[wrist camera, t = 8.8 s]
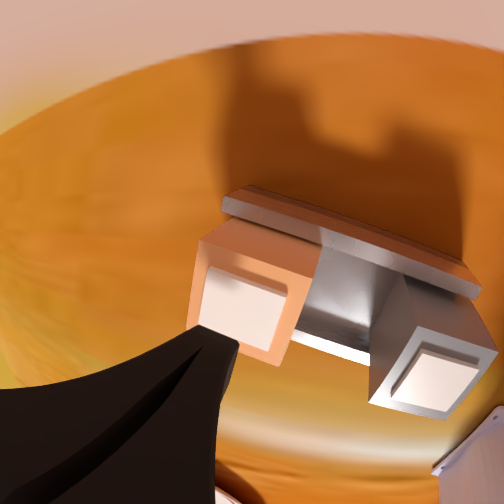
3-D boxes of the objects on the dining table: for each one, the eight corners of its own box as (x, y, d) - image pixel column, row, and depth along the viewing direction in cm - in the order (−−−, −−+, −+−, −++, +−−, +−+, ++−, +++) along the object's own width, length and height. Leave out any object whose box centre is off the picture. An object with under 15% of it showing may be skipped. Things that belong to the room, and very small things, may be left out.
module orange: (302, 305, 16) (277, 372, 11) (230, 279, 17) (182, 333, 12) (326, 234, 14) (311, 283, 10) (246, 208, 15) (195, 242, 10)
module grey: (431, 354, 14) (445, 425, 10) (369, 334, 15) (368, 407, 11) (466, 293, 13) (501, 356, 8) (401, 268, 14) (419, 330, 9)
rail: (411, 354, 16) (417, 391, 13) (224, 290, 18) (200, 317, 16) (462, 260, 14) (482, 287, 11) (248, 185, 16) (224, 195, 13)
